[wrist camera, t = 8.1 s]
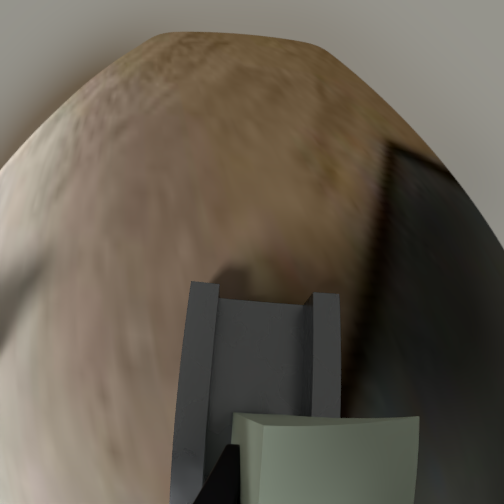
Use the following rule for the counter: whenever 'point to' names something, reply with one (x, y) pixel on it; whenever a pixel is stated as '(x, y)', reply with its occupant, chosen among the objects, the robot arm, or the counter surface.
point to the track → (249, 373)
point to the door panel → (326, 459)
